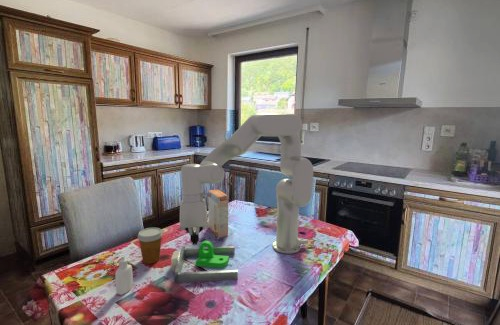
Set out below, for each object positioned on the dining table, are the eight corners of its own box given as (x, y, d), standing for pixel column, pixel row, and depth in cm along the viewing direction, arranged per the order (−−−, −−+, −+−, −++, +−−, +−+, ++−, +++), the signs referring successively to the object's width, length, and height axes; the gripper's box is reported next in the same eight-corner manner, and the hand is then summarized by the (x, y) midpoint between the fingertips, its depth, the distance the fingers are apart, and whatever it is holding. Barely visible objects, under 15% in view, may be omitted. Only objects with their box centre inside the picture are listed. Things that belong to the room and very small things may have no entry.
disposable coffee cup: (157, 251, 113) (156, 225, 112) (167, 260, 107) (166, 232, 105) (134, 259, 107) (133, 231, 105) (144, 268, 100) (143, 239, 98)
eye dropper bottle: (113, 290, 87) (111, 256, 85) (131, 283, 91) (129, 251, 89) (118, 296, 84) (115, 262, 82) (136, 289, 88) (134, 256, 86)
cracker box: (228, 236, 130) (229, 195, 127) (217, 238, 127) (217, 196, 124) (218, 226, 142) (218, 188, 139) (208, 228, 139) (207, 189, 136)
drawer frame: (234, 252, 114) (234, 241, 113) (237, 279, 94) (237, 266, 94) (176, 255, 111) (176, 243, 110) (167, 283, 91) (167, 269, 91)
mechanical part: (195, 266, 103) (195, 247, 102) (200, 258, 109) (200, 240, 108) (225, 268, 102) (225, 249, 100) (228, 260, 107) (229, 242, 106)
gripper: (213, 193, 102) (214, 237, 105) (173, 195, 101) (176, 240, 104) (212, 199, 95) (214, 246, 98) (170, 201, 93) (173, 249, 96)
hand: (194, 243), depth 101 cm, fingers closed
